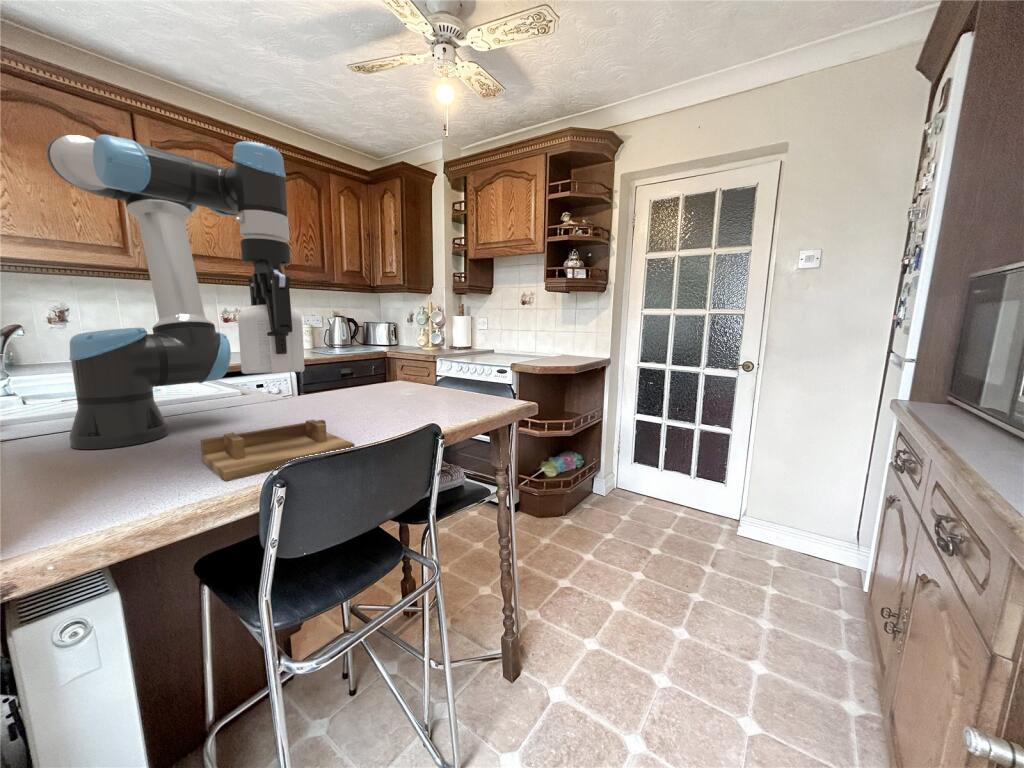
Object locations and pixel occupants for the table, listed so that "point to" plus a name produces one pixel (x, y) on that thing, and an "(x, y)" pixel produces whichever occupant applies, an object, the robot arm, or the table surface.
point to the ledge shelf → (267, 448)
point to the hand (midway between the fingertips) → (274, 370)
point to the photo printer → (267, 341)
